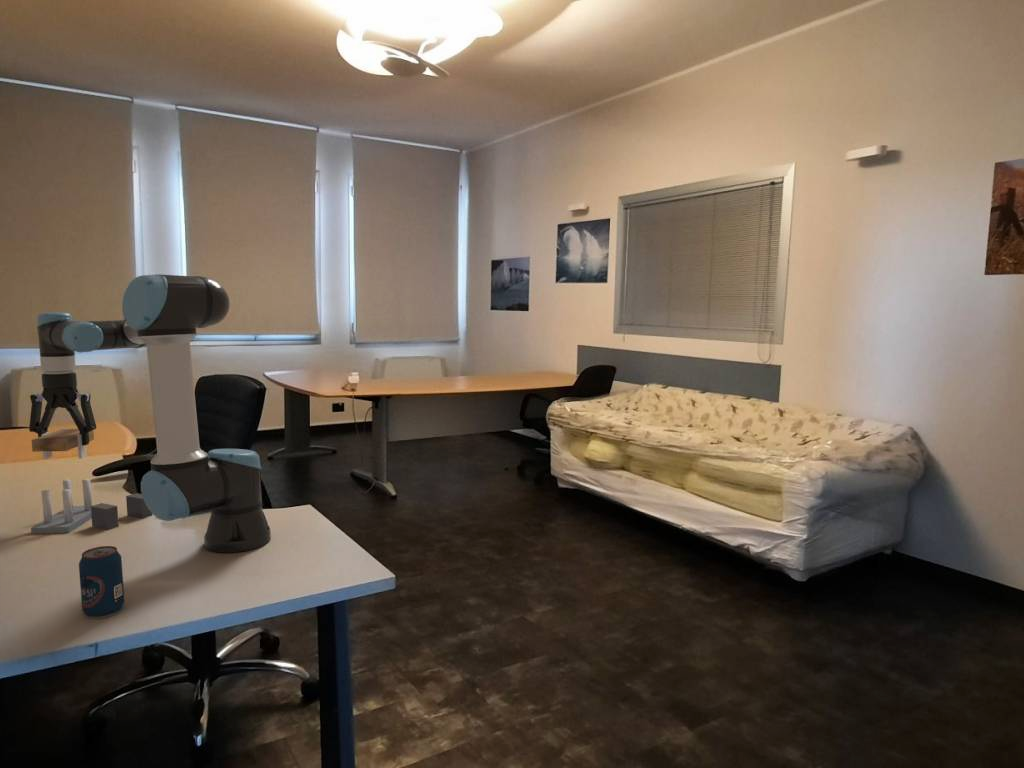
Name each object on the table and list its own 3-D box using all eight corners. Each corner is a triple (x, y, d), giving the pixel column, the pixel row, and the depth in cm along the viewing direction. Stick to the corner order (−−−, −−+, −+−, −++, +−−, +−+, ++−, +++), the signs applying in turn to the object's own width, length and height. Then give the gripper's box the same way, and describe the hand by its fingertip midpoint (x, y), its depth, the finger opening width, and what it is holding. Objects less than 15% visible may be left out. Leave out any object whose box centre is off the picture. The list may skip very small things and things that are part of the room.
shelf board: (94, 439, 184) (93, 428, 184) (66, 451, 171) (65, 439, 170) (63, 439, 184) (62, 429, 183) (32, 451, 170) (31, 439, 169)
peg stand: (103, 510, 189) (101, 475, 188) (69, 532, 171) (66, 494, 170) (69, 511, 188) (66, 476, 187) (31, 533, 170) (28, 495, 169)
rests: (152, 515, 185) (151, 495, 184) (107, 529, 173) (106, 509, 173) (137, 512, 188) (136, 493, 187) (92, 526, 176) (90, 506, 175)
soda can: (73, 618, 126) (68, 557, 124) (101, 602, 133) (97, 543, 131) (106, 621, 125) (101, 559, 123) (133, 604, 131) (129, 546, 130)
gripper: (108, 370, 179) (113, 453, 182) (24, 370, 177) (31, 454, 180) (94, 373, 172) (100, 460, 175) (6, 373, 170) (14, 461, 173)
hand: (65, 457), depth 177 cm, fingers closed on shelf board, 8 cm apart
